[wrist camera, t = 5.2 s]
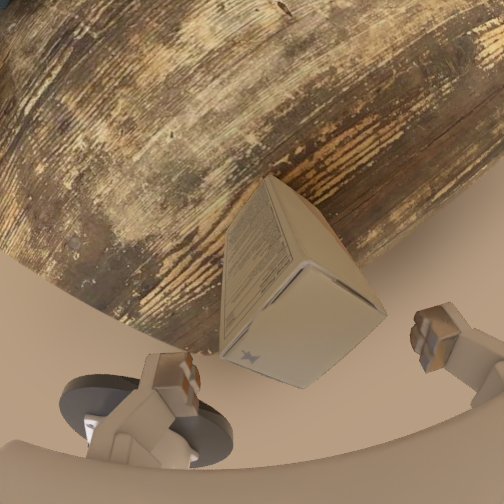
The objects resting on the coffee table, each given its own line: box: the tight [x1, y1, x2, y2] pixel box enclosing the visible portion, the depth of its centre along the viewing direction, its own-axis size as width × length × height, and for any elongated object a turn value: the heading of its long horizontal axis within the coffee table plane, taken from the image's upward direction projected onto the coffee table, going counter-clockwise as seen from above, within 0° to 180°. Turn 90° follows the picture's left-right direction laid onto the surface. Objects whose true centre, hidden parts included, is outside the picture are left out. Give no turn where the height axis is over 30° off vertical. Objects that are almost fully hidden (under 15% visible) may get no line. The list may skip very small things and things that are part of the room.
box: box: [219, 174, 387, 389], centre depth 15 cm, size 5×4×11 cm
